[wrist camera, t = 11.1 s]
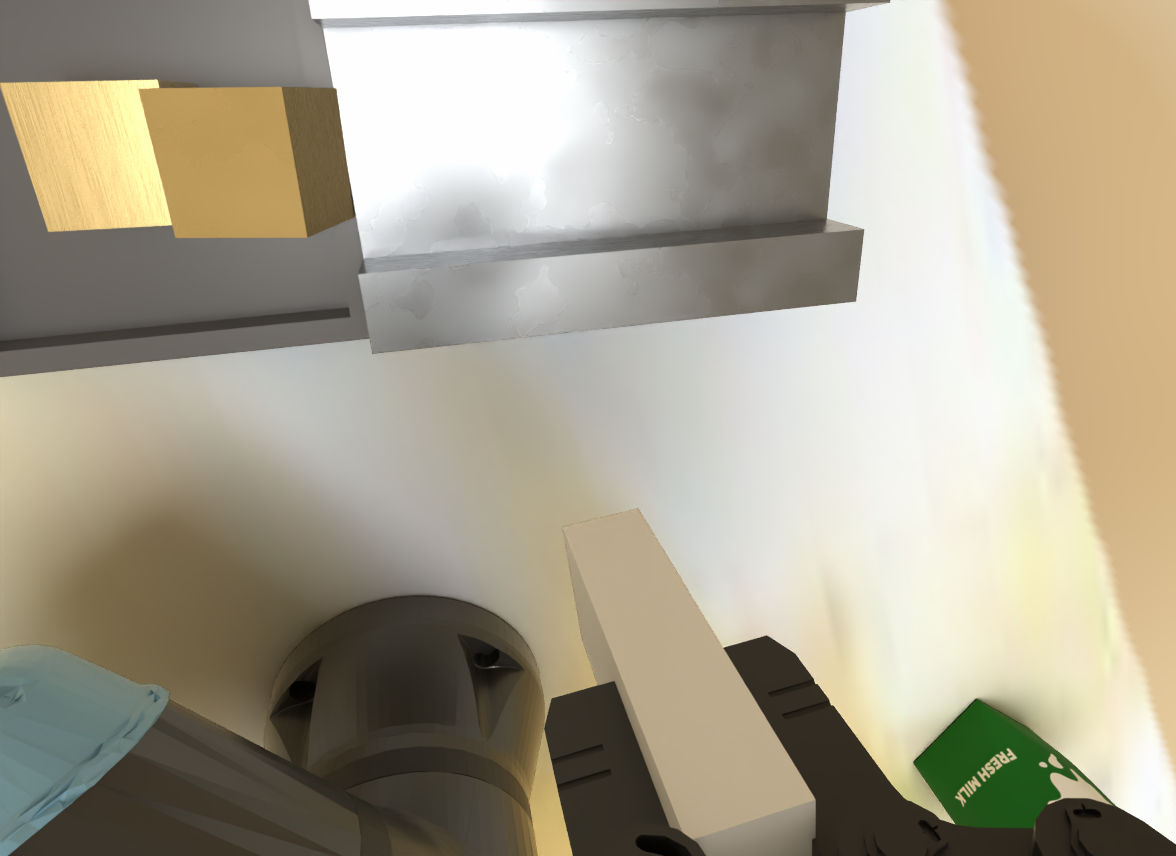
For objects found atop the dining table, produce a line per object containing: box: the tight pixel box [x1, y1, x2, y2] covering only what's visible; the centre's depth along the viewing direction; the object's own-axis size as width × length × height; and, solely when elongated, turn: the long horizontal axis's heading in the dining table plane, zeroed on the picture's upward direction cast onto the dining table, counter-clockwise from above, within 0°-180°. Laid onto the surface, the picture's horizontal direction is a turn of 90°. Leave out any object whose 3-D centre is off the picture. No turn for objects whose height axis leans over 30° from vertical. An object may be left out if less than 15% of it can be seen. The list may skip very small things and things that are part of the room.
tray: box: [0, 0, 370, 377], centre depth 27 cm, size 16×15×2 cm
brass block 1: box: [0, 80, 197, 232], centre depth 25 cm, size 4×4×4 cm
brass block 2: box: [138, 87, 355, 238], centre depth 25 cm, size 4×4×4 cm
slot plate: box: [309, 0, 890, 354], centre depth 28 cm, size 20×14×6 cm
